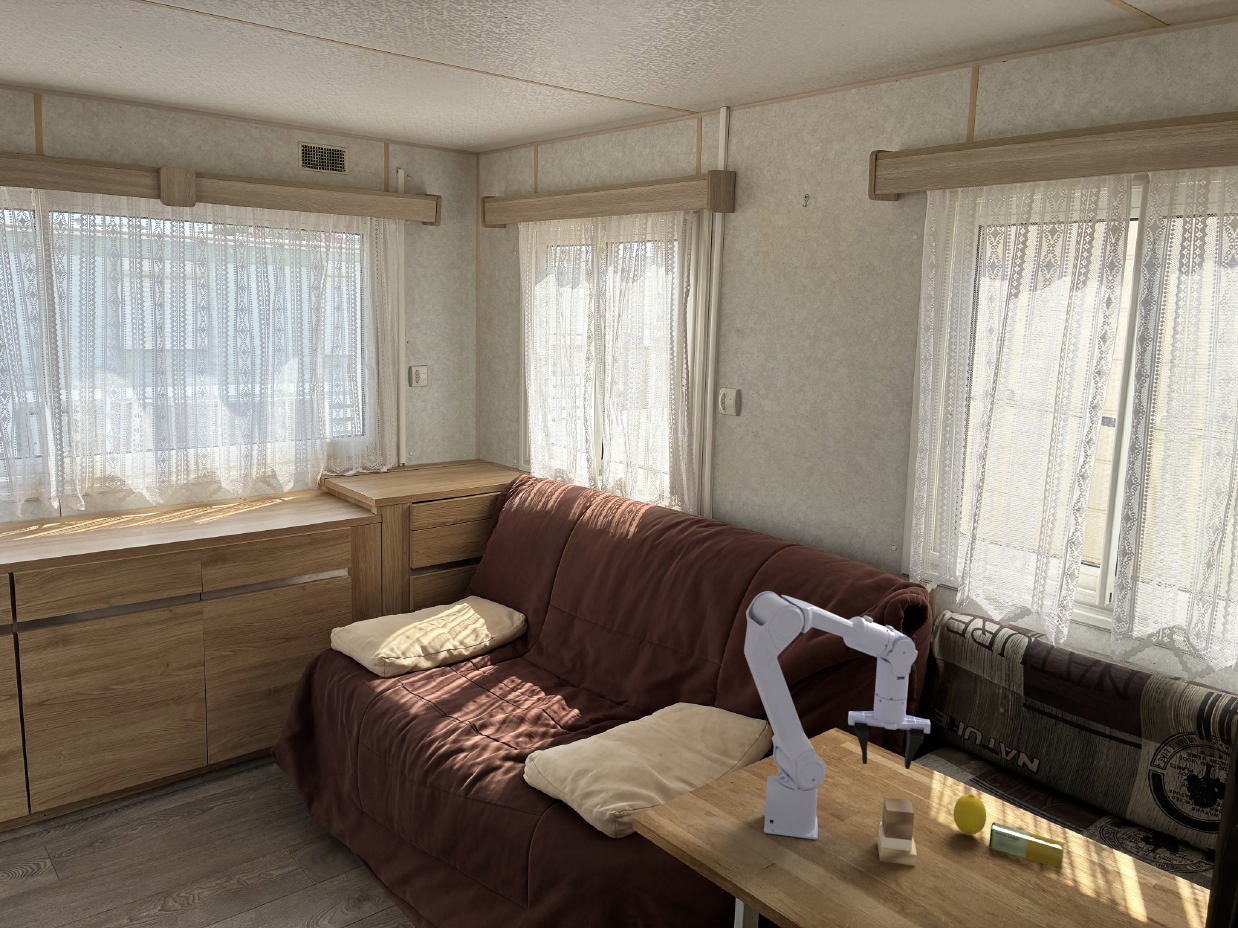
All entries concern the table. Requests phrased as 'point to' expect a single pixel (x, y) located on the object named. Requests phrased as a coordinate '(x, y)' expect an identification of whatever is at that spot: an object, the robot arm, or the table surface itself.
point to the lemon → (969, 814)
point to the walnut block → (898, 818)
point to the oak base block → (897, 854)
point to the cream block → (894, 842)
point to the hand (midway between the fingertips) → (885, 764)
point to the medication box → (1026, 845)
